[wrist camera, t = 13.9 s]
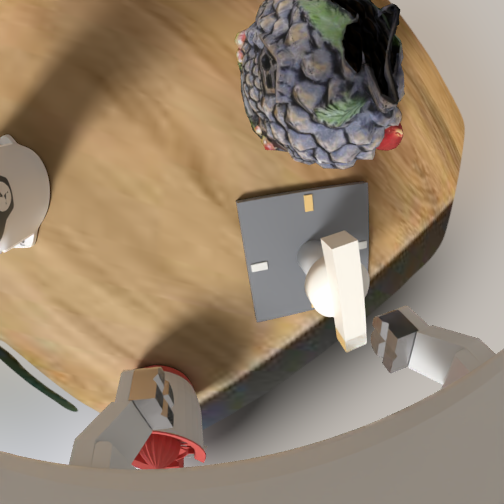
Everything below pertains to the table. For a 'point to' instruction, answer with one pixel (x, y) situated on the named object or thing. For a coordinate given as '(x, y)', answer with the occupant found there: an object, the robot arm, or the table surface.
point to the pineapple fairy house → (322, 78)
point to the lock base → (296, 240)
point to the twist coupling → (340, 288)
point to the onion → (391, 138)
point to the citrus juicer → (175, 429)
